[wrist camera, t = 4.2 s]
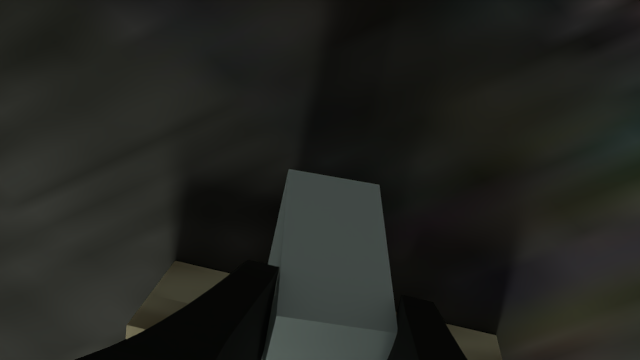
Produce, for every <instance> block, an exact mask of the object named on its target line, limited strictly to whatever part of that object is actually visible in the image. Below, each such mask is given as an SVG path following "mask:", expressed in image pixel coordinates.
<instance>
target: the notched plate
mask: <svg viewBox="0 0 640 360" xmlns="http://www.w3.org/2000/svg"><path fill="white" fill-rule="evenodd" d="M268 264H269V265H273V266H277V267H279V271H278V276H277V282H276V287H275V292H274V298H273V303H272V309H271V314H270V320H269V325H268V330H267V336H266V341H265V346H264V351H263V355H262V359H261V360H387V359H388V356H389V354H390V352H391V349H392V347H393V344H394V341H395V338H396V335H397V329H398V327H397V320H396V312H395V304H394V296H393V288H392V280H391V272H390V265H389V257H388V249H387V241H386V233H385V225H384V217H383V210H382V202H381V194H380V186H379V185H378V184H372V183H366V182H360V181H355V180H349V179H343V178H338V177H332V176H326V175H320V174H315V173H309V172H303V171H297V170H292V169H289V170H288V174H287V179H286V184H285V188H284V193H283V197H282V202H281V206H280V211H279V215H278V220H277V225H276V229H275V234H274V238H273V243H272V247H271V252H270V257H269V261H268Z"/></svg>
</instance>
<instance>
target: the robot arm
mask: <svg viewBox="0 0 640 360" xmlns="http://www.w3.org/2000/svg"><path fill="white" fill-rule="evenodd" d="M278 271H279V267H277V266H273V265H269V264H264V263H260V262H256V261H251V260H248V261H247V262H245V263H243V264H242V265H240V266H239V267H238V268H237V269H235V270H234V271H233V272H232V273H230V274H229V275H228V276H227V277H225V278H224V279H223V280H221V281H220V282H219V283H217V284H216V285H215V286H213V287H212V288H211V289H209V290H208V291H206V292H205V293H203V294H202V295H201V296H199V297H198V298H196V299H195V300H193V301H192V302H191V303H189V304H188V305H186V306H184V307H183V308H181V309H180V310H178V311H176V312H175V313H173V314H171V315H170V316H168V317H166V318H165V319H163V320H161V321H160V322H158V323H157V324H155V325H153V326H151V327H149V328H148V329H146V330H144V331H142V332H140V333H138V334H136V335H134V336H132V337H130V338H127V339H125V340H123V341H121V342H119V343H117V344H114V345H112V346H110V347H107V348H105V349H102V350H100V351H97V352H94V353H92V354H89V355H86V356H84V357H81V358H78V359H76V360H261V359H262V355H263V351H264V346H265V341H266V336H267V330H268V325H269V320H270V314H271V309H272V303H273V298H274V292H275V287H276V282H277V276H278ZM396 320H397V327H398V329H397V335H396V338H395V341H394V344H393V347H392V349H391V352H390V354H389V356H388V359H387V360H468V359H467V358H466V356H465V355H464V353H463V352H462V350H461V348H460V347H459V345H458V343H457V342H456V340H455V338H454V337H453V335H452V334H451V332H450V330H449V328H448V327H447V325H446V323H445V322H444V320H443V318H442V316H441V315H440V313H439V311H438V310H437V308H436V307H435V305H434V303H433V302H429V301H425V300H420V299H416V298H412V297H407V296H403V295H402V296H401V300H400V303H399V307H398V311H397V314H396Z"/></svg>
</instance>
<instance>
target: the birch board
mask: <svg viewBox="0 0 640 360" xmlns="http://www.w3.org/2000/svg"><path fill="white" fill-rule="evenodd" d="M229 274H230V273H226V272H222V271H217V270H213V269H209V268H204V267H200V266H196V265H191V264H187V263H183V262H179V261H174V263H173V264H172V265H171V267H170V268H169V269H168V271H167V272H166V273H165V275H164V276H163V277H162V279H161V280H160V281H159V283H158V284H157V285H156V287H155V288H154V289H153V291H152V292H151V293H150V295H149V296H148V297H147V299H146V300H145V301H144V303H143V304H142V305H141V307H140V308H139V309H138V311H137V312H136V313H135V315H134V316H133V317H132V319H131V320H130V321H129V323H128V324H127V329H126V339H127V338H130V337H132V336H134V335H136V334H138V333H140V332H142V331H144V330H146V329H148V328H149V327H151V326H153V325H155V324H157V323H158V322H160V321H161V320H163V319H165V318H166V317H168V316H170V315H171V314H173V313H175V312H176V311H178V310H180V309H181V308H183V307H184V306H186V305H188V304H189V303H191V302H192V301H193V300H195V299H196V298H198V297H199V296H201V295H202V294H203V293H205V292H206V291H208V290H209V289H211V288H212V287H213V286H215V285H216V284H217V283H219V282H220V281H221V280H223V279H224V278H225V277H227V276H228V275H229ZM396 314H397V312H396ZM446 325H447V327H448V328H449V330H450V332H451V334H452V335H453V337H454V338H455V340H456V342H457V343H458V345H459V347H460V348H461V350H462V352H463V353H464V355H465V356H466V358H467V359H468V360H502V356H501V352H500V348H499V344H498V340H497V336H496V335H492V334H488V333H484V332H480V331H475V330H471V329H467V328H462V327H458V326H454V325H449V324H446Z"/></svg>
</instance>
